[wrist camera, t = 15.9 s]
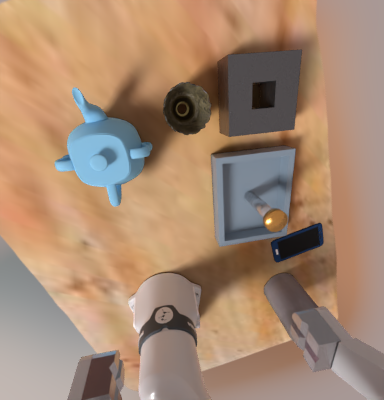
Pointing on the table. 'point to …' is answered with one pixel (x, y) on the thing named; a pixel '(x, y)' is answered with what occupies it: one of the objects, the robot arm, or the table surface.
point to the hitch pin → (267, 212)
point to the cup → (187, 108)
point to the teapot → (103, 150)
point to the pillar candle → (287, 298)
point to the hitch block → (269, 92)
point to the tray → (250, 181)
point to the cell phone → (297, 242)
